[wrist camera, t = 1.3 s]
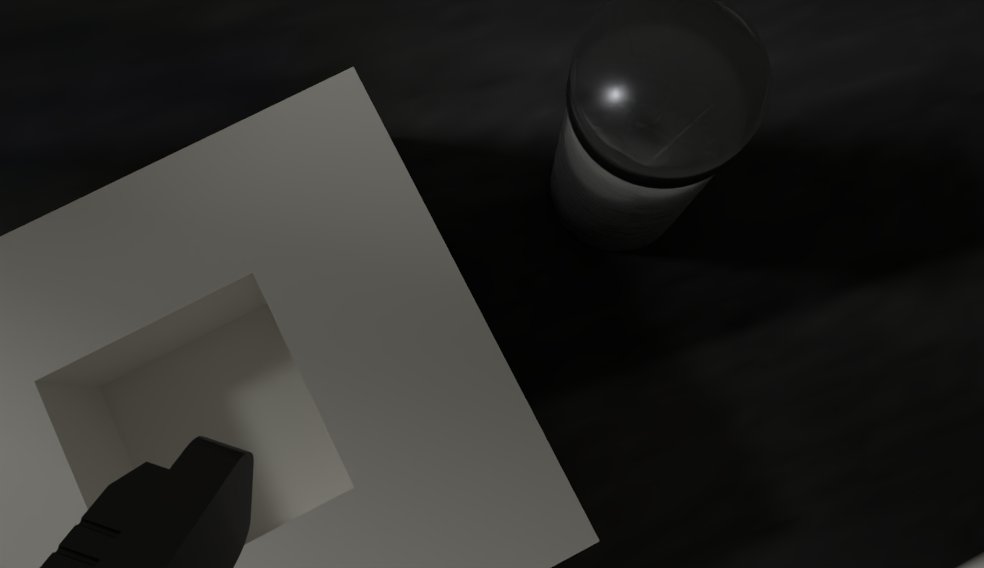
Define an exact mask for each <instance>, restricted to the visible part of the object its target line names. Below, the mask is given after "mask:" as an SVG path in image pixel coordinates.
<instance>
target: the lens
mask: <svg viewBox="0 0 984 568" xmlns="http://www.w3.org/2000/svg"><path fill="white" fill-rule="evenodd" d="M771 87H772V77H771V67H770V62H769V58H768V55H767V52H766V49H765V46H764V44H763V42H762V40H761V38H760V36H759V35H758V33H757V31H756V30H755V29H754V27H753V26H752V24H751V23H750V22H749V21H748V20H747V19H746V18H745V16H744V15H743V14H742V13H741V12H739V11H738V10H737V9H736V8H735V7H734V6H732V5H731V4H729V3H728V2H726V1H725V0H612V1H610V2H609V3H608V4H606V5H605V6H604V7H602V8H601V9H600V10H599V11H598V12H597V13H596V14H595V15H594V16H593V17H592V18H591V20H590V21H589V22H588V24H587V25H586V26H585V28H584V30H583V31H582V33H581V35H580V37H579V39H578V42H577V44H576V47H575V50H574V54H573V58H572V62H571V67H570V72H569V77H568V82H567V90H566V108H565V113H564V117H563V122H562V126H561V131H560V136H559V140H558V145H557V150H556V154H555V159H554V164H553V168H552V173H551V179H550V195H551V200H552V204H553V207H554V210H555V212H556V214H557V216H558V218H559V220H560V221H561V223H562V224H563V226H564V227H565V228H566V229H567V230H568V231H569V232H570V233H571V234H572V235H573V236H574V237H576V238H577V239H578V240H580V241H581V242H583V243H585V244H587V245H589V246H591V247H594V248H596V249H600V250H604V251H611V252H625V251H632V250H635V249H639V248H642V247H644V246H646V245H648V244H650V243H652V242H653V241H655V240H657V239H658V238H659V237H660V236H662V235H663V234H664V233H665V232H666V230H667V229H668V228H669V227H670V226H671V225H672V224H673V223H674V221H675V220H676V219H677V218H678V217H679V216H680V214H681V213H682V212H683V211H684V210H685V209H686V208H687V206H688V205H689V204H690V203H691V202H692V201H693V199H694V198H695V197H696V196H697V195H698V194H699V192H700V191H701V190H702V189H703V188H704V187H705V186H706V184H707V183H708V182H709V181H710V180H711V179H712V177H713V176H714V175H715V174H716V173H718V172H719V171H720V170H722V169H723V168H724V167H725V166H727V165H728V164H729V163H730V162H731V161H732V160H733V159H734V158H735V156H736V155H737V154H738V153H739V152H740V151H741V150H742V149H743V147H744V146H745V145H746V144H747V143H748V142H749V141H750V140H751V138H752V137H753V136H754V134H755V133H756V131H757V130H758V129H759V127H760V125H761V123H762V121H763V119H764V117H765V114H766V112H767V109H768V106H769V101H770V96H771Z"/></svg>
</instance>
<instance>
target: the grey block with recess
mask: <svg viewBox="0 0 984 568" xmlns="http://www.w3.org/2000/svg"><path fill="white" fill-rule="evenodd" d="M198 436H204V437H207V438H210V439H213V440H216V441H219V442H222V443H225V444H228V445H231V446H234V447H237V448H240V449H243V450H246V451H249V452H251V453H252V454H253V458H254V466H253V485H252V505H251V521H250V527H249V531H248V535H247V538H246V541H245V544H244V547H243V549H242V551H241V554H240V556H239V558H238V560H237V562H236V564H235V566H234V567H233V568H551V567H553V566H555V565H557V564H558V563H560V562H562V561H564V560H566V559H568V558H570V557H571V556H573V555H575V554H577V553H579V552H581V551H582V550H584V549H586V548H588V547H590V546H592V545H594V544H595V543H597V542H599V539H598V537H597V535H596V533H595V531H594V529H593V527H592V525H591V524H590V522H589V520H588V518H587V516H586V514H585V512H584V510H583V508H582V506H581V504H580V502H579V500H578V498H577V497H576V495H575V493H574V491H573V489H572V487H571V485H570V483H569V481H568V479H567V477H566V475H565V473H564V471H563V470H562V468H561V466H560V464H559V462H558V460H557V458H556V456H555V454H554V452H553V450H552V448H551V446H550V445H549V443H548V441H547V439H546V437H545V435H544V433H543V431H542V429H541V427H540V425H539V423H538V421H537V419H536V418H535V416H534V414H533V412H532V410H531V408H530V406H529V404H528V402H527V400H526V398H525V396H524V394H523V393H522V391H521V389H520V387H519V385H518V383H517V381H516V379H515V377H514V375H513V373H512V371H511V369H510V367H509V366H508V364H507V362H506V360H505V358H504V356H503V354H502V352H501V350H500V348H499V346H498V344H497V342H496V340H495V339H494V337H493V335H492V333H491V331H490V329H489V327H488V325H487V323H486V321H485V319H484V317H483V315H482V314H481V312H480V310H479V308H478V306H477V304H476V302H475V300H474V298H473V296H472V294H471V292H470V290H469V288H468V287H467V285H466V283H465V281H464V279H463V277H462V275H461V273H460V271H459V269H458V267H457V265H456V263H455V262H454V260H453V258H452V256H451V254H450V252H449V250H448V248H447V246H446V244H445V242H444V240H443V238H442V236H441V235H440V233H439V231H438V229H437V227H436V225H435V223H434V221H433V219H432V217H431V215H430V213H429V211H428V209H427V208H426V206H425V204H424V202H423V200H422V198H421V196H420V194H419V192H418V190H417V188H416V186H415V184H414V183H413V181H412V179H411V177H410V175H409V173H408V171H407V169H406V167H405V165H404V163H403V161H402V159H401V157H400V156H399V154H398V152H397V150H396V148H395V146H394V144H393V142H392V140H391V138H390V136H389V134H388V132H387V131H386V129H385V127H384V125H383V123H382V121H381V119H380V117H379V115H378V113H377V111H376V109H375V107H374V105H373V104H372V102H371V100H370V98H369V96H368V94H367V92H366V90H365V88H364V86H363V84H362V82H361V80H360V78H359V77H358V75H357V73H356V71H355V69H354V67H352V68H350V69H347V70H345V71H343V72H341V73H339V74H337V75H335V76H333V77H331V78H329V79H327V80H325V81H323V82H320V83H318V84H316V85H314V86H312V87H310V88H308V89H306V90H304V91H302V92H300V93H298V94H296V95H294V96H291V97H289V98H287V99H285V100H283V101H281V102H279V103H277V104H275V105H273V106H271V107H269V108H267V109H264V110H262V111H260V112H258V113H256V114H254V115H252V116H250V117H248V118H246V119H244V120H242V121H240V122H237V123H235V124H233V125H231V126H229V127H227V128H225V129H223V130H221V131H219V132H217V133H215V134H213V135H210V136H208V137H206V138H204V139H202V140H200V141H198V142H196V143H194V144H192V145H190V146H188V147H186V148H183V149H181V150H179V151H177V152H175V153H173V154H171V155H169V156H167V157H165V158H163V159H161V160H159V161H156V162H154V163H152V164H150V165H148V166H146V167H144V168H142V169H140V170H138V171H136V172H134V173H132V174H129V175H127V176H125V177H123V178H121V179H119V180H117V181H115V182H113V183H111V184H109V185H107V186H105V187H102V188H100V189H98V190H96V191H94V192H92V193H90V194H88V195H86V196H84V197H82V198H80V199H78V200H75V201H73V202H71V203H69V204H67V205H65V206H63V207H61V208H59V209H57V210H55V211H53V212H51V213H48V214H46V215H44V216H42V217H40V218H38V219H36V220H34V221H32V222H30V223H28V224H26V225H24V226H21V227H19V228H17V229H15V230H13V231H11V232H9V233H7V234H5V235H3V236H1V237H0V568H40V567H41V566H42V564H43V563H44V562H45V561H46V560H47V558H48V557H49V556H50V555H51V554H52V552H54V553H55V552H56V551H57V549H58V547H59V544H60V543H61V542H62V540H63V539H64V538H65V537H66V536H67V534H68V533H69V532H70V531H71V530H72V528H73V527H74V526H75V525H78V524H79V523H80V521H81V518H82V516H83V515H84V514H85V513H86V512H87V510H88V509H89V508H90V507H91V506H92V504H93V503H94V502H95V501H96V500H97V498H98V497H99V496H100V495H101V494H102V492H103V491H104V490H105V489H106V488H107V486H108V485H109V484H111V483H113V482H114V481H116V480H118V479H119V478H121V477H122V476H124V475H126V474H127V473H129V472H130V471H132V470H134V469H135V468H137V467H138V466H140V465H142V464H143V463H145V462H150V463H153V464H156V465H158V466H161V467H164V468H167V469H170V468H171V466H172V465H173V464H174V462H175V461H176V460H177V459H178V457H179V456H180V455H181V453H182V452H183V451H184V449H185V448H186V447H187V446H188V444H189V443H190V442H191V441H192V440H193V439H195V438H196V437H198Z"/></svg>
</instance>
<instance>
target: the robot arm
mask: <svg viewBox="0 0 984 568" xmlns="http://www.w3.org/2000/svg"><path fill="white" fill-rule="evenodd" d="M253 466H254V458H253V454H252V453H251V452H249V451H246V450H243V449H240V448H237V447H234V446H231V445H228V444H225V443H222V442H219V441H216V440H213V439H210V438H207V437H204V436H198V437H196V438H195V439H193V440H192V441H191V442H190V443H189V444H188V446H187V447H186V448H185V449H184V451H183V452H182V453H181V455H180V456H179V457H178V459H177V460H176V461H175V462H174V464H173V465H172V466H171V468H170V469H167V468H164V467H161V466H158V465H156V464H153V463H150V462H145V463H143V464H142V465H140V466H138V467H137V468H135V469H134V470H132V471H130V472H129V473H127V474H126V475H124V476H122V477H121V478H119V479H118V480H116V481H114V482H113V483H111V484H109V485H108V486H107V488H106V489H105V490H104V491H103V492H102V494H101V495H100V496H99V497H98V498H97V500H96V501H95V502H94V503H93V504H92V506H91V507H90V508H89V509H88V510H87V512H86V513H85V514H84V515H83V516H82V518H81V521H80V523H79V524H78V525H75V526H74V527H73V528H72V530H71V531H70V532H69V533H68V534H67V536H66V537H65V538H64V539H63V540H62V542H61V543H60V544H59V547H58V549H57V551H56V552H55V553H54V552H52V554H51V555H50V556H49V557H48V558H47V560H46V561H45V562H44V563H43V564H42V566H41V567H40V568H233V567H234V566H235V564H236V562H237V560H238V558H239V556H240V554H241V551H242V549H243V547H244V544H245V541H246V538H247V535H248V531H249V527H250V521H251V505H252V485H253Z"/></svg>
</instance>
